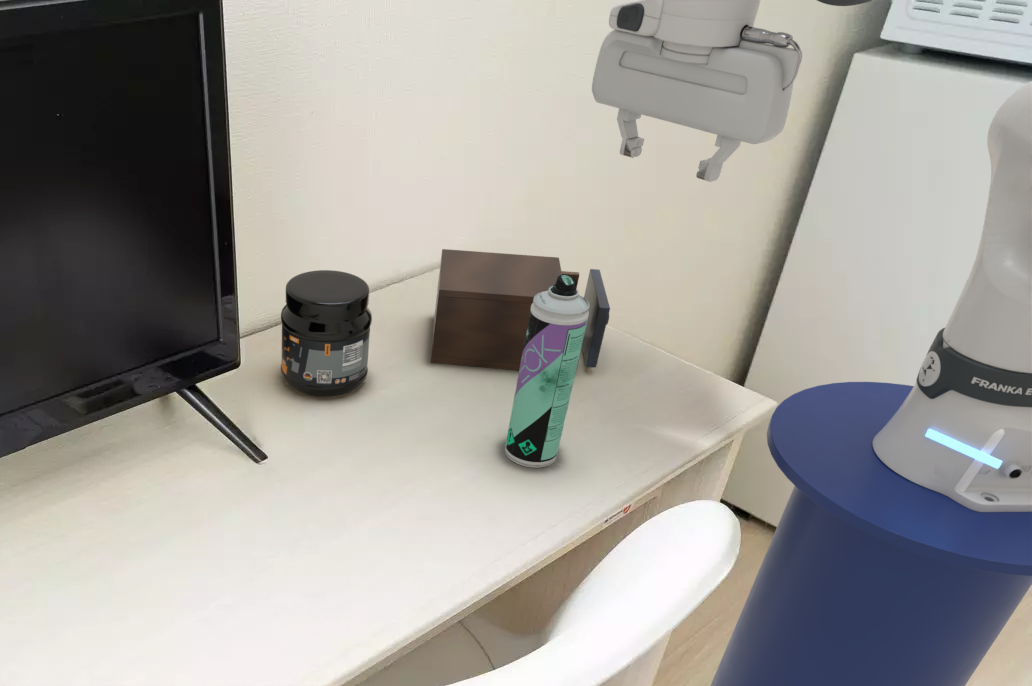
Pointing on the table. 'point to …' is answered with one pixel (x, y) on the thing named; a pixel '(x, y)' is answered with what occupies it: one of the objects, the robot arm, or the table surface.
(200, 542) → the table surface
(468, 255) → the cabinet
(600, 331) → the drawer
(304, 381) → the supplement container
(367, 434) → the table surface
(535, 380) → the spray can
